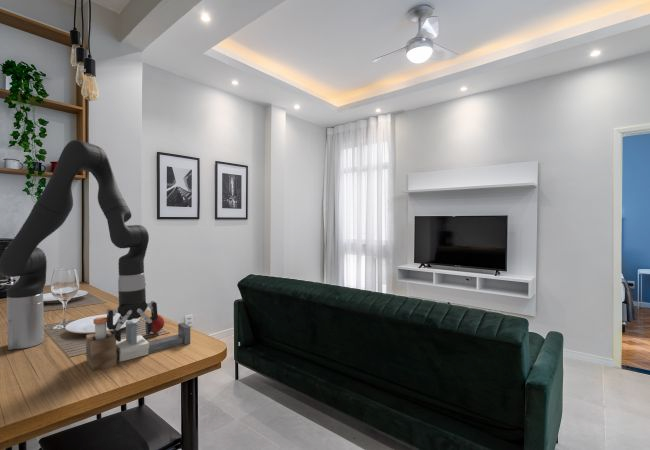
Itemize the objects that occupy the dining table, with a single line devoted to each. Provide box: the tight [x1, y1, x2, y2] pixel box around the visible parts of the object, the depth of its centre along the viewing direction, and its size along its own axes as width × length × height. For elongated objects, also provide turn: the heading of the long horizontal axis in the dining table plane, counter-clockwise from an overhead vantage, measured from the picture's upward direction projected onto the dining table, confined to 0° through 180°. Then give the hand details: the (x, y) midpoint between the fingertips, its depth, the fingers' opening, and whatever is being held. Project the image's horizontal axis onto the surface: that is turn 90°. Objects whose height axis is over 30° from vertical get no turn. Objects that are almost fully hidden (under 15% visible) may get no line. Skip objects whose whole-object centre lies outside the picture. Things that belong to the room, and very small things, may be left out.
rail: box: [116, 322, 191, 363], centre depth 112 cm, size 23×6×6 cm, turn 134°
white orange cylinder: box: [92, 316, 108, 340], centre depth 101 cm, size 4×4×8 cm
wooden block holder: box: [85, 329, 117, 373], centre depth 102 cm, size 6×10×8 cm, turn 44°
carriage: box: [116, 320, 149, 362], centre depth 107 cm, size 8×9×10 cm
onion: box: [150, 313, 165, 335], centre depth 126 cm, size 6×6×8 cm
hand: (133, 337), depth 108 cm, fingers open, 8 cm apart
